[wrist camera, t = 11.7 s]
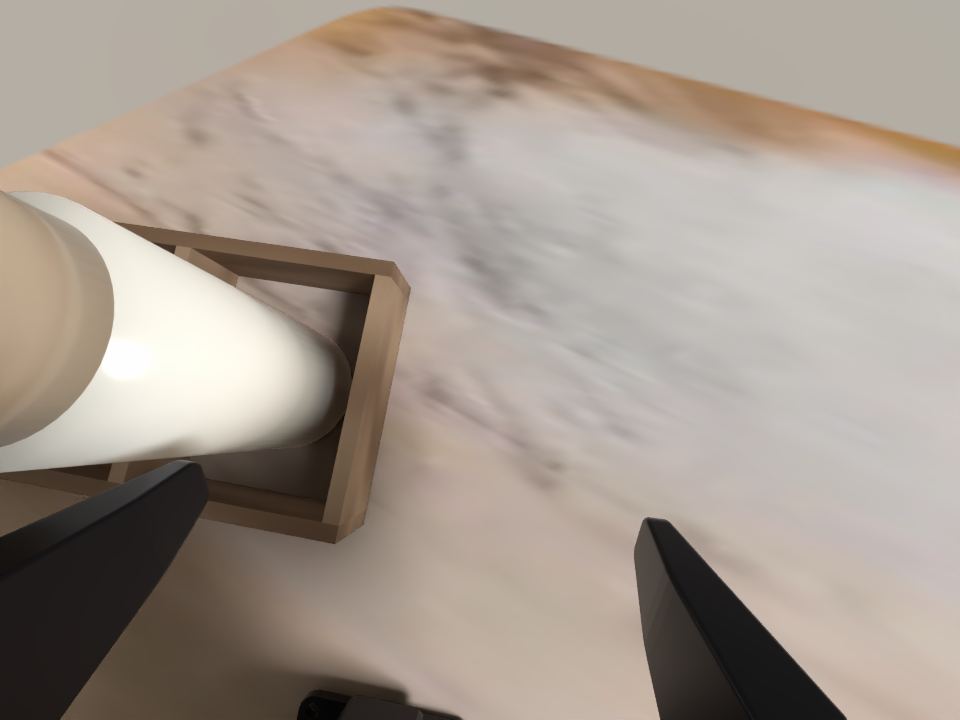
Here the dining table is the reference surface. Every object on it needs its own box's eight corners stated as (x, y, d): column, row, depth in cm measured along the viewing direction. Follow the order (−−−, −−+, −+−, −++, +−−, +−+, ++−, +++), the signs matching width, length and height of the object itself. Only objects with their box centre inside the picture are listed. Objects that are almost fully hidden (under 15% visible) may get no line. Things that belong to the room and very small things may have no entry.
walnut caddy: (363, 524, 17) (334, 544, 14) (-35, 448, 19) (-136, 451, 16) (410, 288, 19) (393, 261, 16) (40, 233, 20) (-39, 199, 17)
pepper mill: (374, 403, 18) (66, 341, 5) (269, 471, 18) (-318, 578, 5) (315, 306, 19) (-73, 49, 6) (214, 369, 19) (-408, 240, 6)
